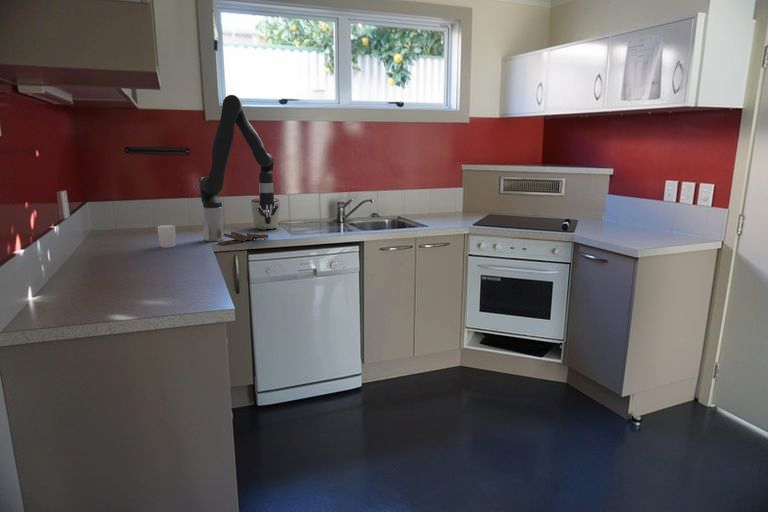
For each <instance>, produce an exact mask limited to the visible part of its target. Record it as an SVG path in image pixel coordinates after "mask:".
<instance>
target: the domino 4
mask: <svg viewBox="0 0 768 512" xmlns="http://www.w3.org/2000/svg"><path fill="white" fill-rule="evenodd" d="M246 236H249V237H259V238H266V239H268V238H269V234H268V233H267V234H266V233H259V232H258V233H257V232H255V233H254V232H246Z"/></svg>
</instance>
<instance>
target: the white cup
mask: <svg viewBox="0 0 768 512" xmlns="http://www.w3.org/2000/svg"><path fill="white" fill-rule="evenodd" d="M157 232H158V238H159V246H160V248H165V249H167V248H168V249H169V248H175V247H176V225H174V224H173V225H172V224H165V225H164V224H163V225H160V226H159V225H158V226H157Z"/></svg>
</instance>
